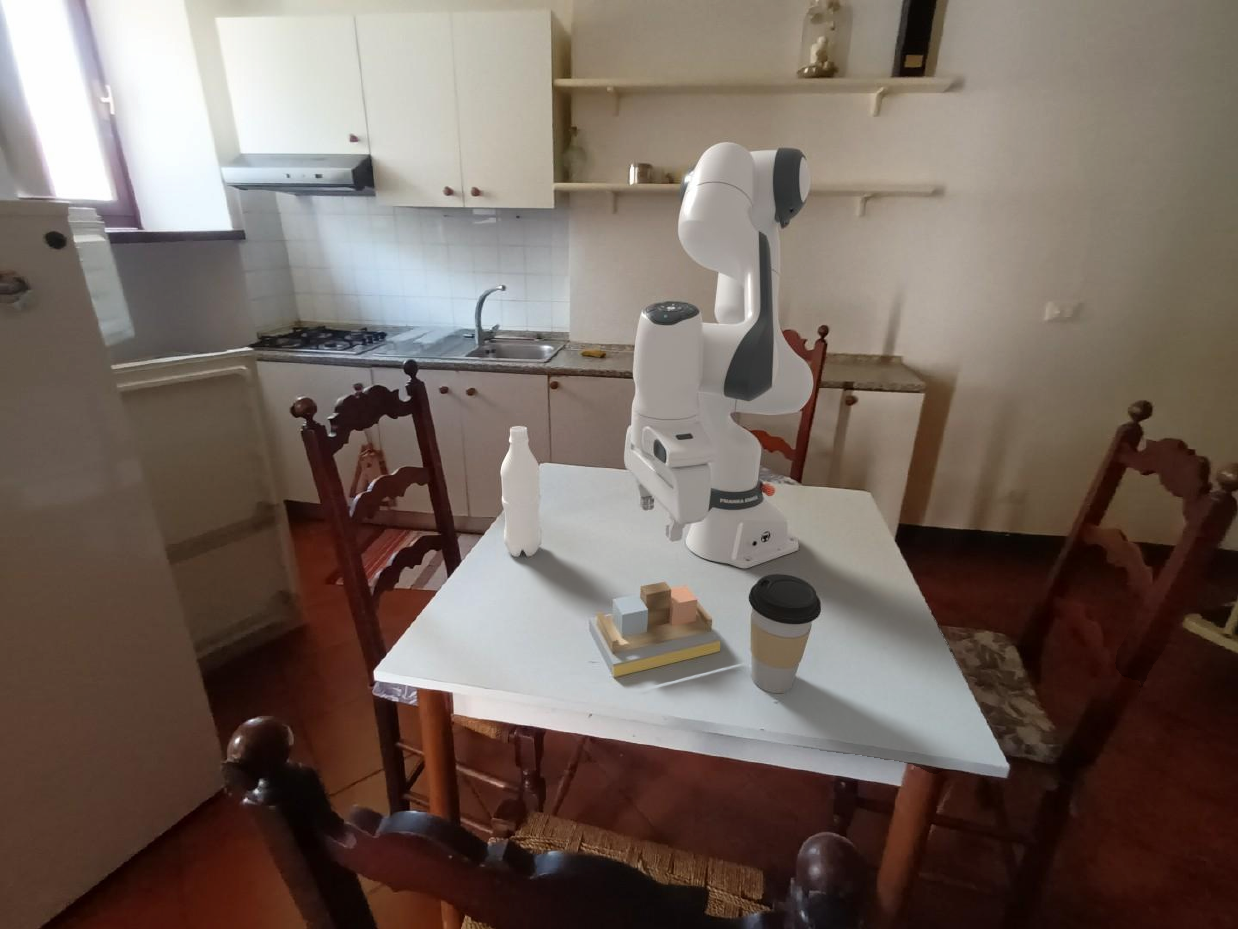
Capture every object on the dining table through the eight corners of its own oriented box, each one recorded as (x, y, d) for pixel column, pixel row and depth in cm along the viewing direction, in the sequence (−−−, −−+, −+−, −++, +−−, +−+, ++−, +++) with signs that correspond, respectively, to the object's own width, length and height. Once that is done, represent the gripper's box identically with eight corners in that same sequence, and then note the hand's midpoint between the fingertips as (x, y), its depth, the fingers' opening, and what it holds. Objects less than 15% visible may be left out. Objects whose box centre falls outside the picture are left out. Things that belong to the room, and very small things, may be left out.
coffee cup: (734, 655, 90) (744, 569, 85) (797, 658, 90) (812, 572, 85) (744, 702, 82) (756, 609, 76) (814, 705, 82) (832, 612, 76)
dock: (686, 610, 100) (687, 598, 100) (719, 653, 91) (721, 639, 90) (589, 631, 95) (589, 618, 94) (613, 679, 85) (613, 665, 84)
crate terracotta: (684, 606, 95) (685, 584, 94) (695, 621, 92) (697, 599, 90) (660, 611, 94) (662, 589, 92) (671, 626, 91) (673, 604, 89)
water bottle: (535, 562, 113) (531, 437, 104) (498, 557, 114) (491, 433, 105) (546, 544, 120) (544, 424, 110) (512, 539, 121) (506, 420, 111)
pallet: (690, 605, 98) (693, 566, 95) (711, 631, 92) (715, 591, 89) (596, 624, 92) (597, 584, 90) (612, 653, 86) (613, 612, 84)
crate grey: (636, 616, 93) (637, 594, 91) (646, 632, 89) (648, 609, 88) (612, 621, 91) (612, 599, 90) (621, 637, 88) (622, 614, 86)
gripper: (614, 409, 88) (613, 494, 93) (675, 460, 70) (669, 562, 75) (654, 405, 90) (650, 489, 95) (723, 454, 72) (713, 554, 78)
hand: (659, 522), depth 85 cm, fingers open, 8 cm apart
